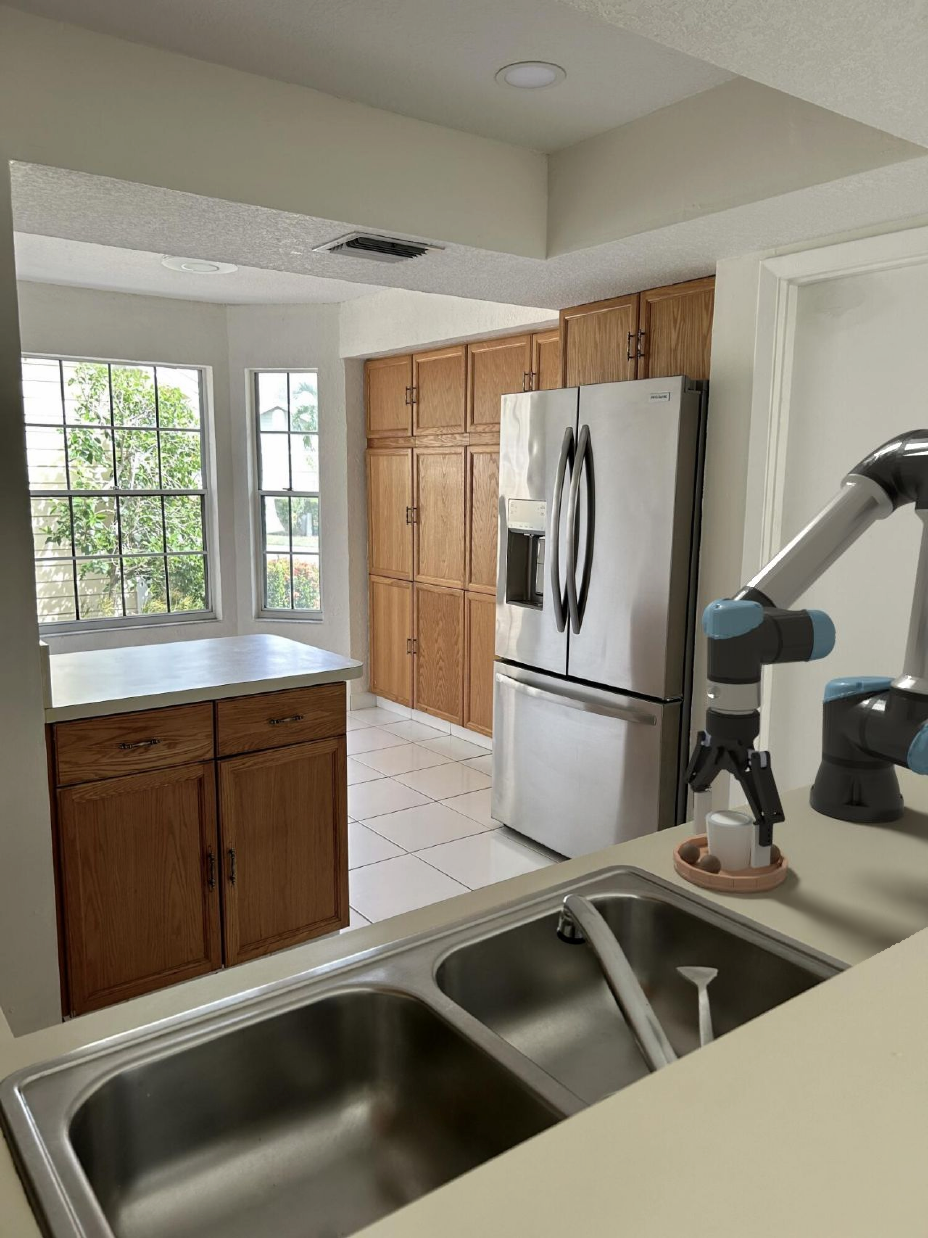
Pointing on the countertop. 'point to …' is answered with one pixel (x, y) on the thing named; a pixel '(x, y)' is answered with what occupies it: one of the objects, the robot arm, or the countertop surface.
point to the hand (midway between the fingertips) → (729, 848)
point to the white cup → (730, 838)
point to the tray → (730, 872)
